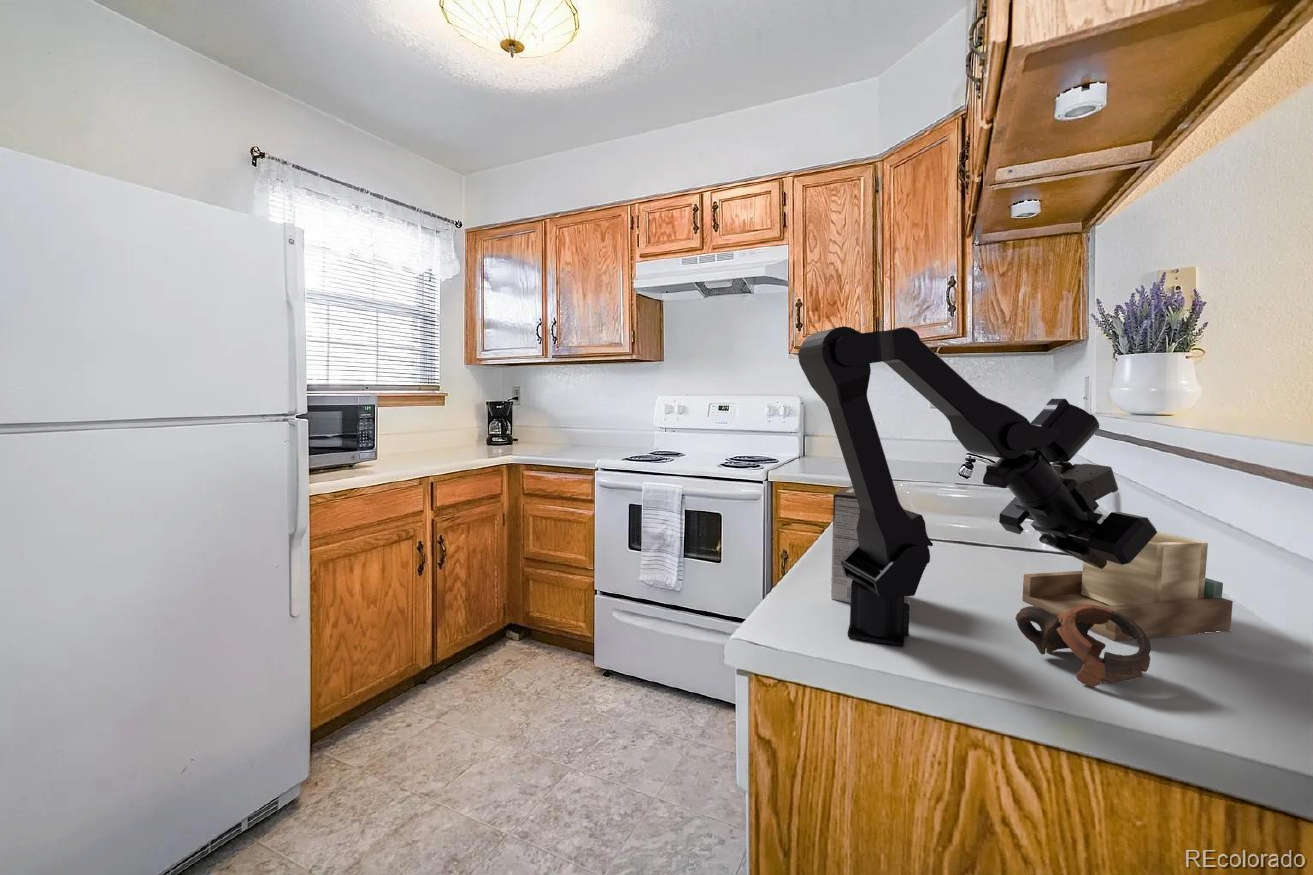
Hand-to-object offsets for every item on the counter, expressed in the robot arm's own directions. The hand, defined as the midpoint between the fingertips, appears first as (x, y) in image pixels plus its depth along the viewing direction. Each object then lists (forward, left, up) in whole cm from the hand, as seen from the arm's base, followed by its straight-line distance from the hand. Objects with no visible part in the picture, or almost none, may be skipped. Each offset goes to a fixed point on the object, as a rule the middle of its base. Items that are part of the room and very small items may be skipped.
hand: (1102, 565), depth 77 cm
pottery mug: (-7, -19, -7) cm, 22 cm away
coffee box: (-31, -5, -7) cm, 32 cm away
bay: (+2, +1, -7) cm, 7 cm away
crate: (+5, +4, -6) cm, 9 cm away
